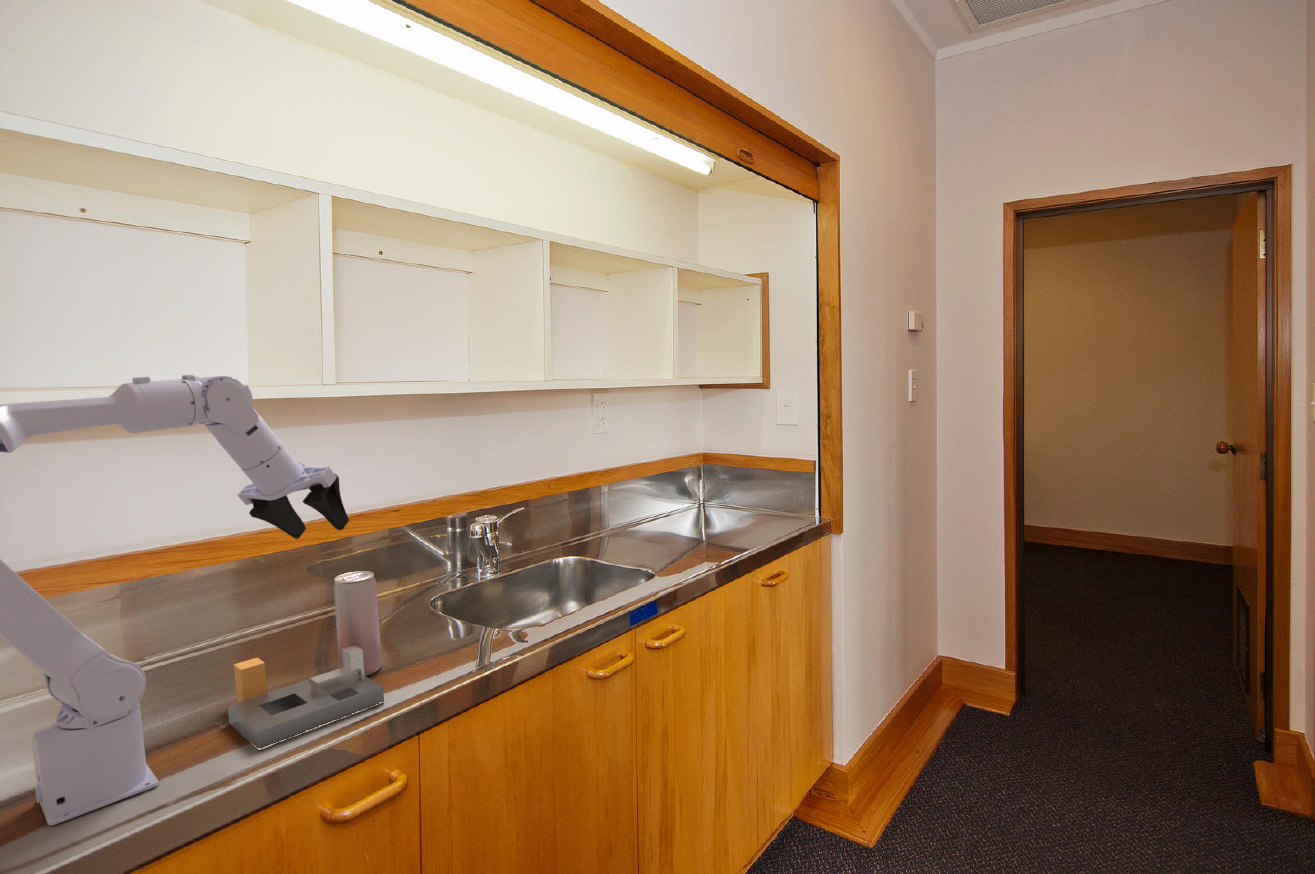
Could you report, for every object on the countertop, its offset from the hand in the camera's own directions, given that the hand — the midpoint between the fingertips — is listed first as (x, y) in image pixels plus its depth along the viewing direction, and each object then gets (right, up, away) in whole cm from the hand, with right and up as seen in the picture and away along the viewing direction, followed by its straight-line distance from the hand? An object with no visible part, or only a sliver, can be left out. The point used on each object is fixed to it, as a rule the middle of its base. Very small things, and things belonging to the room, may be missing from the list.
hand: (322, 529), depth 99 cm
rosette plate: (0, -24, -4) cm, 25 cm away
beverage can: (+1, -23, +10) cm, 25 cm away
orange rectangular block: (-9, -24, -1) cm, 26 cm away
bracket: (+3, -22, -1) cm, 22 cm away
